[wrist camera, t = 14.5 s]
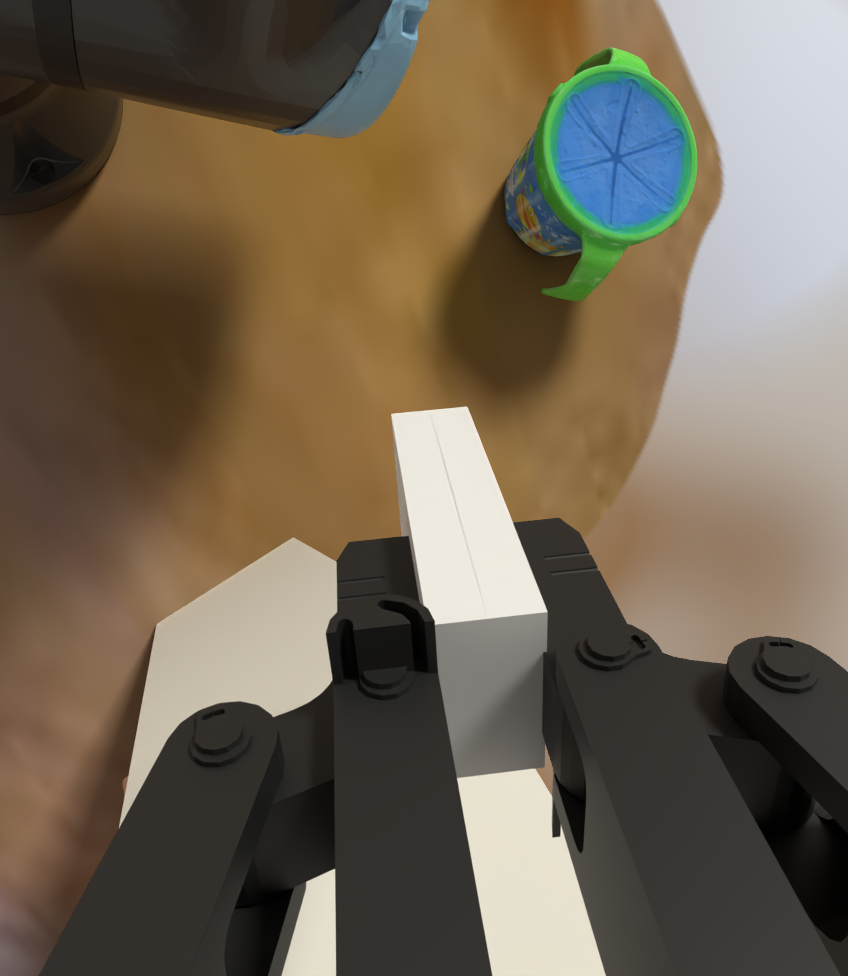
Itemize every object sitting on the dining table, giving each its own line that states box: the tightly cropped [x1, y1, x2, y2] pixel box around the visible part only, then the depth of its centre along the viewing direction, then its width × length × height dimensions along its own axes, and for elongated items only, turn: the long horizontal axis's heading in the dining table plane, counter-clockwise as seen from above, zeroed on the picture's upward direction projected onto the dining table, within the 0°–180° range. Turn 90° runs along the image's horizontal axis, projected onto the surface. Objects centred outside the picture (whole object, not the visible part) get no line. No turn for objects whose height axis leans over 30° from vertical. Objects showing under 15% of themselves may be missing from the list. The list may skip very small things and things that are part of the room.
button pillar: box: [119, 537, 606, 976], centre depth 37 cm, size 10×14×32 cm
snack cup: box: [505, 48, 697, 301], centre depth 52 cm, size 16×11×10 cm
